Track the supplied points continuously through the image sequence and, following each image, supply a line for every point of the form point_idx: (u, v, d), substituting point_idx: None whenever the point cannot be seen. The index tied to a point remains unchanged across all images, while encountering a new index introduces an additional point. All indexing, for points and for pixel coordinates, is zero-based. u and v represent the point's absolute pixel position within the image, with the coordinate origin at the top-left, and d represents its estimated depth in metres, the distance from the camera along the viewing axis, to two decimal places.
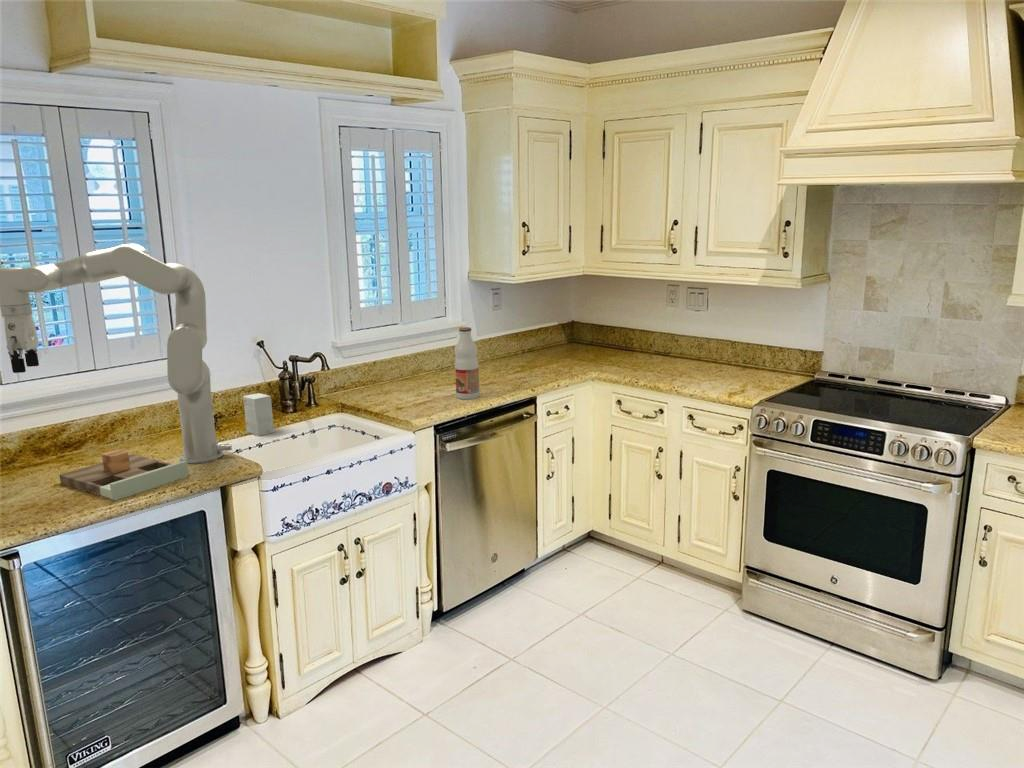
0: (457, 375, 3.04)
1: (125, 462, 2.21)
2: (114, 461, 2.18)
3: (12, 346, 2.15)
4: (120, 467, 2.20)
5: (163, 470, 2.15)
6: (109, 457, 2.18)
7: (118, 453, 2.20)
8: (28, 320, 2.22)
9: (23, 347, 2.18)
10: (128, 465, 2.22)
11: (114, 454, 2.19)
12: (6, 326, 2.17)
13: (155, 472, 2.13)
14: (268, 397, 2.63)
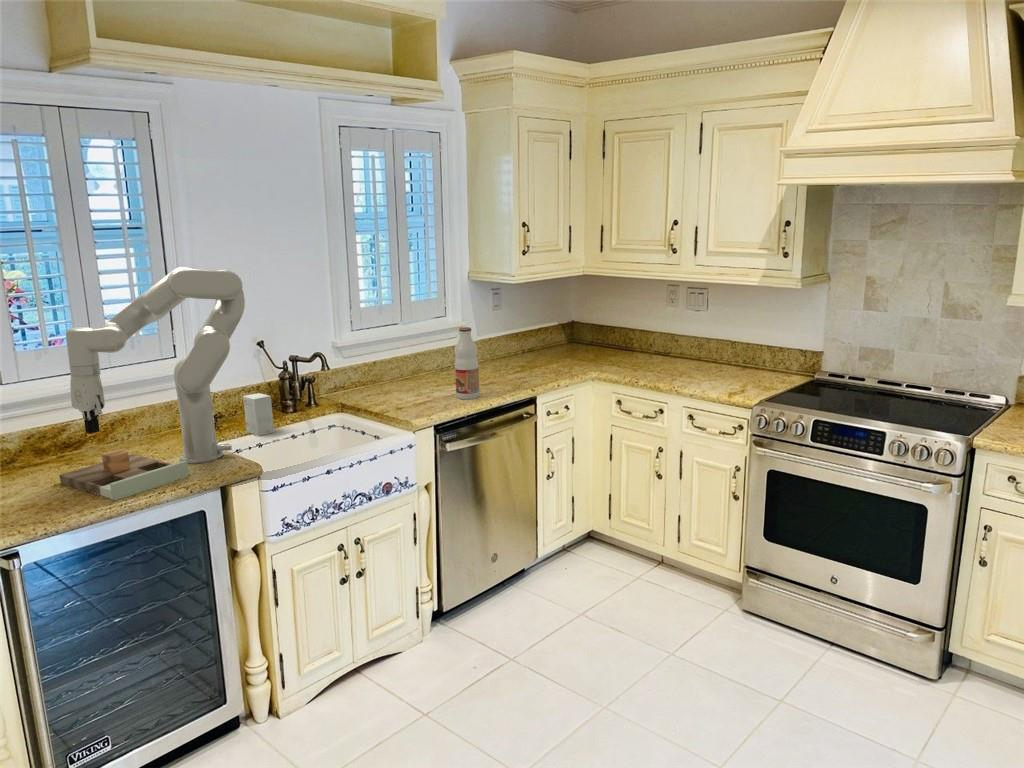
0: (457, 375, 3.04)
1: (125, 462, 2.21)
2: (114, 461, 2.18)
3: None
4: (120, 467, 2.20)
5: (163, 470, 2.15)
6: (109, 457, 2.18)
7: (118, 453, 2.20)
8: (76, 382, 2.19)
9: None
10: (128, 465, 2.22)
11: (114, 454, 2.19)
12: None
13: (155, 472, 2.13)
14: (268, 397, 2.63)
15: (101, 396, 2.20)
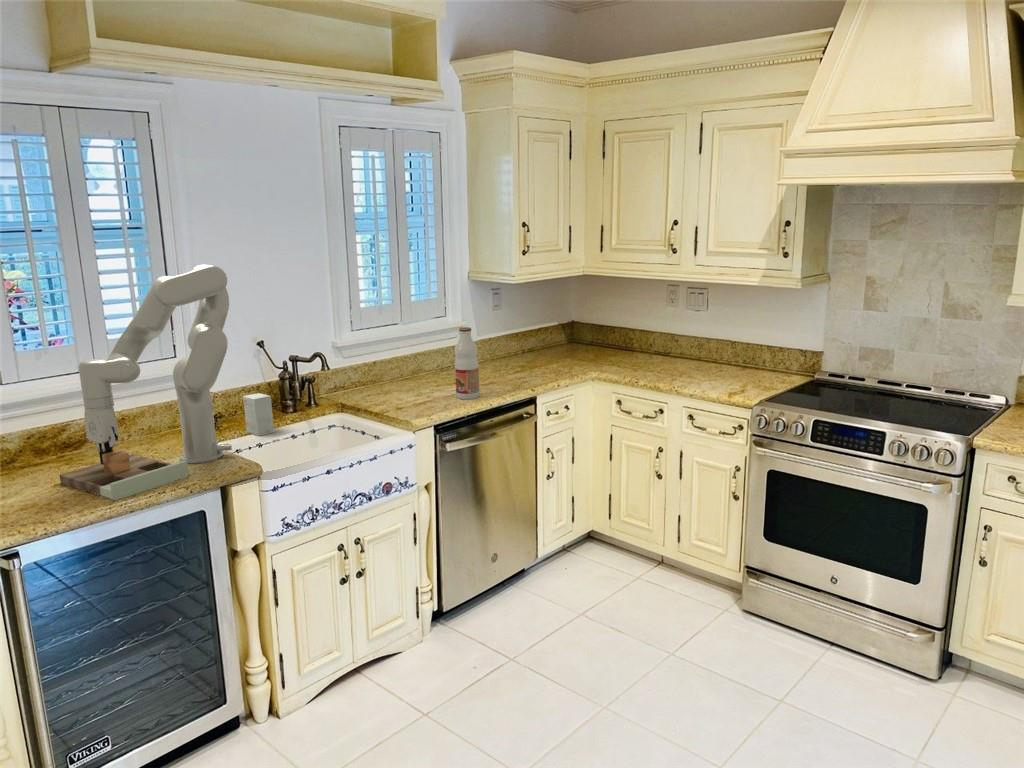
0: (457, 375, 3.04)
1: (126, 462, 2.21)
2: (114, 462, 2.18)
3: None
4: (121, 467, 2.20)
5: (163, 470, 2.15)
6: (109, 457, 2.18)
7: (118, 453, 2.20)
8: (90, 415, 2.19)
9: None
10: (128, 466, 2.22)
11: (114, 454, 2.19)
12: None
13: (155, 472, 2.13)
14: (268, 397, 2.63)
15: (115, 428, 2.20)
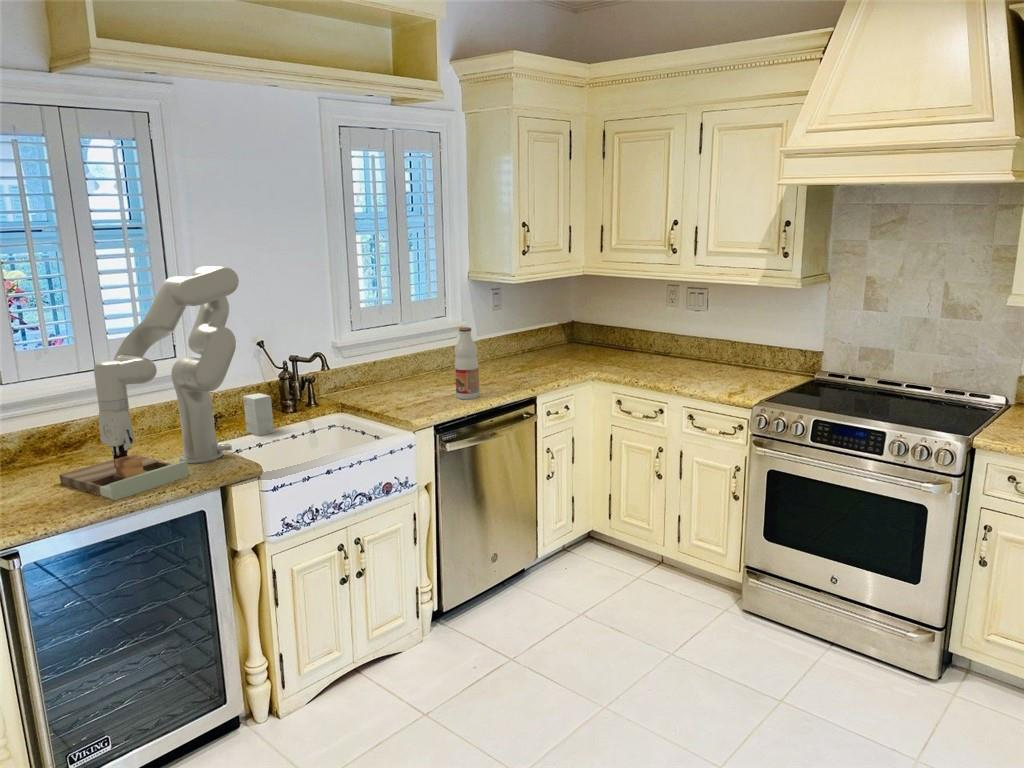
0: (457, 375, 3.04)
1: (139, 467, 2.16)
2: (127, 467, 2.13)
3: None
4: (134, 472, 2.15)
5: (163, 470, 2.15)
6: (122, 462, 2.13)
7: (131, 458, 2.15)
8: (105, 417, 2.14)
9: None
10: (141, 471, 2.17)
11: (127, 459, 2.14)
12: None
13: (155, 472, 2.13)
14: (268, 397, 2.63)
15: (130, 431, 2.15)
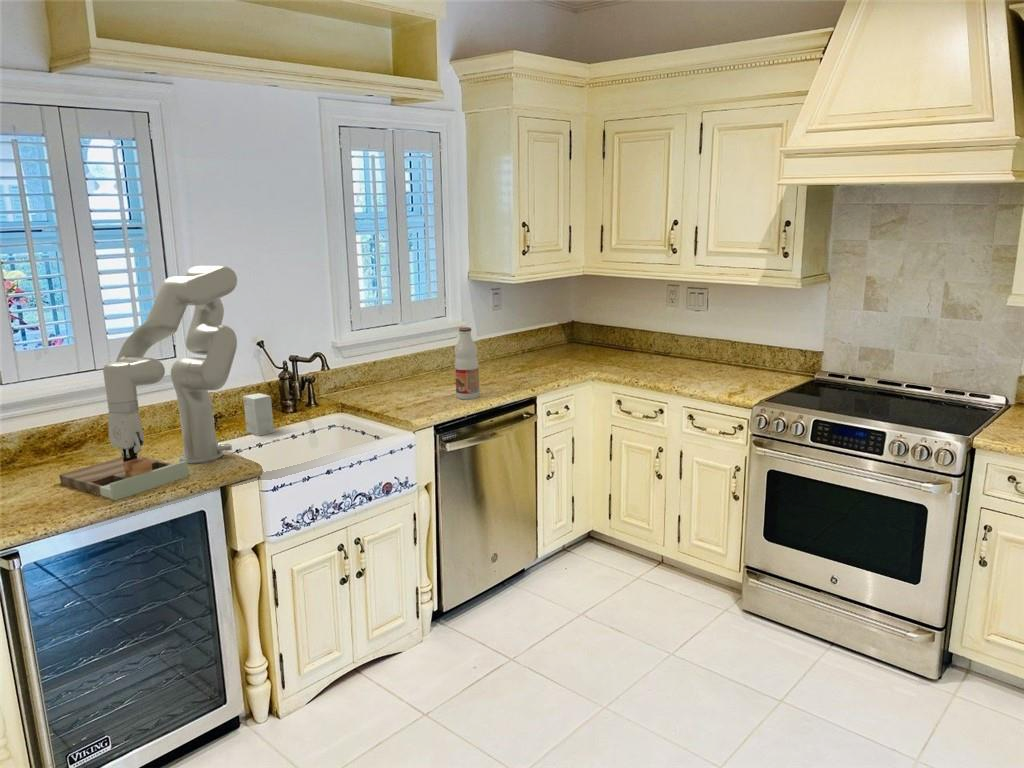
0: (457, 375, 3.04)
1: (148, 470, 2.13)
2: (136, 470, 2.10)
3: None
4: None
5: (163, 470, 2.15)
6: (131, 465, 2.10)
7: (141, 461, 2.12)
8: (115, 419, 2.11)
9: None
10: None
11: (137, 462, 2.11)
12: None
13: (155, 472, 2.13)
14: (268, 397, 2.63)
15: (140, 433, 2.13)
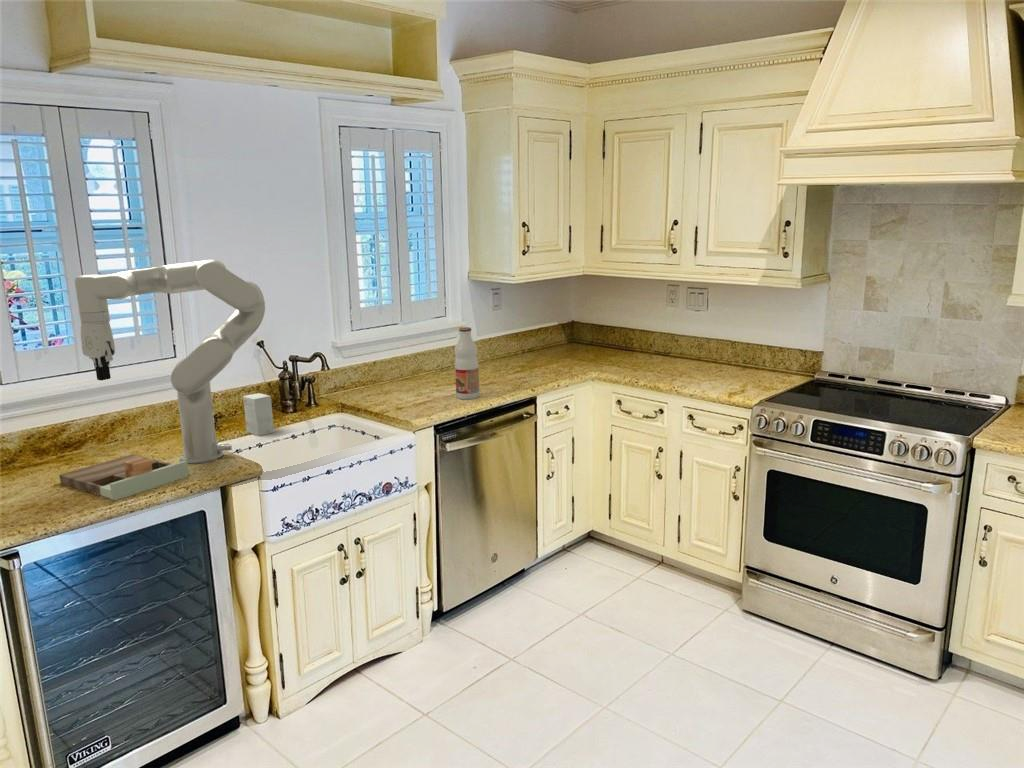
0: (457, 375, 3.04)
1: (148, 470, 2.13)
2: (136, 470, 2.10)
3: None
4: None
5: (163, 470, 2.15)
6: (131, 465, 2.10)
7: (141, 461, 2.12)
8: (87, 329, 2.22)
9: None
10: None
11: (137, 462, 2.11)
12: None
13: (155, 472, 2.13)
14: (268, 397, 2.63)
15: (111, 342, 2.23)
